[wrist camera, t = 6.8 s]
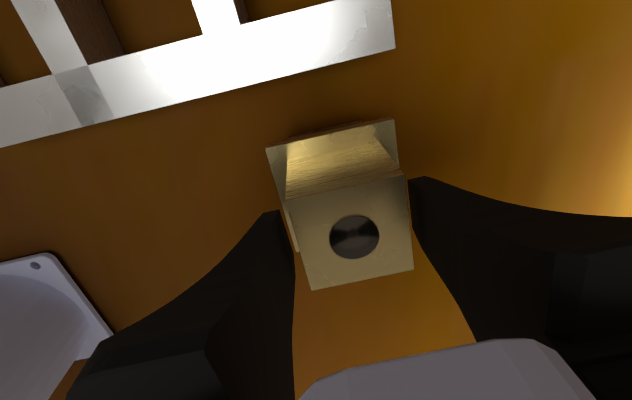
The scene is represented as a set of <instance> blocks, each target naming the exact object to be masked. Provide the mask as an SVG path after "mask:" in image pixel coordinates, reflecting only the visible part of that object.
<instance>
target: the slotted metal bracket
mask: <svg viewBox="0 0 632 400" xmlns="http://www.w3.org/2000/svg"><path fill="white" fill-rule="evenodd" d="M11 2H12V3H13V5H14V7H15V9H16V10H17V12H18V14H19V16H20V18H21V19H22V21H23V23H24V25H25V26H26V28H27V30H28V32H29V33H30V35H31V37H32V39H33V40H34V42H35V44H36V46H37V47H38V49H39V51H40V53H41V54H42V56H43V58H44V60H45V61H46V63H47V65H48V67H49V68H50V70H51V72H52V75H48V76H45V77H41V78H37V79H33V80H29V81H25V82H22V83H18V84H14V85H10V86H6V84H5V83H4V81H3V79H2V78H1V76H0V148H1V147H5V146H9V145H13V144H17V143H21V142H25V141H29V140H33V139H37V138H41V137H45V136H49V135H53V134H57V133H61V132H65V131H69V130H73V129H77V128H81V127H85V126H89V125H93V124H97V123H101V122H105V121H109V120H113V119H117V118H120V117H124V116H128V115H132V114H136V113H140V112H144V111H148V110H152V109H156V108H160V107H164V106H168V105H172V104H176V103H180V102H184V101H188V100H192V99H196V98H200V97H204V96H208V95H212V94H216V93H220V92H224V91H228V90H232V89H236V88H240V87H244V86H248V85H252V84H256V83H260V82H264V81H268V80H272V79H276V78H280V77H284V76H288V75H292V74H296V73H300V72H304V71H308V70H311V69H315V68H319V67H323V66H327V65H331V64H335V63H339V62H343V61H347V60H351V59H355V58H359V57H363V56H367V55H371V54H375V53H379V52H383V51H387V50H391V49H395V39H394V30H393V20H392V10H391V1H390V0H335V1H331V2H327V3H323V4H320V5H316V6H312V7H308V8H304V9H301V10H297V11H293V12H289V13H285V14H281V15H278V16H274V17H270V18H266V19H262V20H258V21H255V22H251V23H250V22H249V18H248V14H247V11H246V7H245V4H244V0H192V3H193V6H194V9H195V12H196V15H197V18H198V21H199V23H200V26H201V29H202V32H203V35H201V36H197V37H194V38H190V39H186V40H182V41H178V42H174V43H171V44H167V45H163V46H159V47H155V48H152V49H148V50H144V51H140V52H136V53H132V54H129V55H126V54H125V52H124V50H123V48H122V46H121V44H120V41H119V39H118V37H117V35H116V33H115V30H114V28H113V26H112V24H111V22H110V20H109V17H108V15H107V13H106V11H105V9H104V7H103V4H102V2H101V0H11Z"/></svg>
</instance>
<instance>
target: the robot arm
mask: <svg viewBox="0 0 632 400" xmlns="http://www.w3.org/2000/svg"><path fill="white" fill-rule="evenodd" d="M407 181H408V191H409V200H410V210H411V219H412V228H413V230H414V232H415V235H416V237H417V239H418V241H419V243H420V245H421V247H422V249H423V251H424V253H425V254H426V256H427V257H428V259H429V260H430V262H431V264H432V265H433V267H434V268H435V270H436V271H437V273H438V274H439V276H440V277H441V279H442V280H443V282H444V283H445V285H446V286H447V288H448V289H449V291H450V293H451V294H452V296H453V297H454V299H455V301H456V302H457V304H458V306H459V307H460V309H461V311H462V313H463V315H464V317H465V319H466V321H467V323H468V325H469V327H470V329H471V331H472V333H473V335H474V337H475V339H476V341H477V342H476V343H471V344H466V345H461V346H456V347H451V348H446V349H441V350H436V351H431V352H426V353H421V354H416V355H411V356H406V357H401V358H396V359H391V360H386V361H381V362H376V363H371V364H366V365H361V366H356V367H351V368H346V369H344V370H341V371H339V372H336V373H333V374H331V375H328V376H326V377H323V378H321V379H318V380H317V381H316V382H315V383H314V384H313V385H312V386H311V387H310V388H309V389H308V390H307V391H306V392H305V393H304V394H303V395H302V396H301V397H300V399H299V400H632V217H611V216H596V215H583V214H573V213H564V212H556V211H549V210H542V209H536V208H530V207H525V206H520V205H516V204H511V203H506V202H502V201H498V200H495V199H491V198H488V197H485V196H481V195H478V194H475V193H472V192H469V191H466V190H463V189H460V188H457V187H455V186H452V185H449V184H447V183H444V182H441V181H439V180H436V179H433V178H430V177H426V176H423V177H418V178H414V179H410V180H407ZM37 263H38V264H37ZM39 264H40V265H39ZM294 292H295V265H294V254H293V251H292V247H291V244H290V241H289V238H288V235H287V232H286V229H285V226H284V223H283V220H282V216H281V213H280V210H274V211H270V212H266V213H263V214H262V215H261V216H260V217H259V218H258V219H257V221H256V222H255V223H254V224H253V226H252V227H251V228H250V229H249V230H248V232H247V233H246V234H245V235H244V236H243V238H242V239H241V240H240V241H239V242H238V244H237V245H236V246H235V247H234V248H233V249H232V250H231V251H230V252H229V253H228V254H227V255H226V256H225V258H224V259H223V260H222V261H221V262H220V263H219V264H217V265H216V266H215V267H214V268H213V269H212V270H211V271H210V272H209V273H207V274H206V275H205V276H204V277H203V278H202V279H200V280H199V281H198V282H197V283H195V284H194V285H193V286H191V287H190V288H189V289H187V290H186V291H185V292H183V293H182V294H181V295H179V296H178V297H176V298H175V299H174V300H172V301H171V302H169V303H168V304H166V305H164V306H163V307H161V308H160V309H158V310H157V311H155V312H153V313H152V314H150V315H148V316H147V317H145V318H143V319H142V320H140V321H138V322H136V323H134V324H133V325H131V326H129V327H127V328H125V329H123V330H121V331H120V332H118V333H116V334H113V333H112V331H111V330H110V329H109V327H108V326H107V325H106V323H105V322H104V321H103V319H102V318H101V317H100V315H99V314H98V313H97V311H96V310H95V309H94V307H93V306H92V305H91V303H90V302H89V301H88V299H87V298H86V297H85V295H84V294H83V293H82V291H81V290H80V289H79V287H78V286H77V285H76V283H75V282H74V281H73V279H72V278H71V277H70V275H69V274H68V273H67V271H66V270H65V269H64V267H63V266H62V265H61V263H60V262H59V261H58V259H57V258H56V257H55V256H54V255H52V254H50V253H40V254H36V255H31V256H27V257H23V258H18V259H14V260H10V261H5V262H1V263H0V400H48V399H49V397H50V396H51V395H52V393H53V392H54V390H55V389H56V387H57V386H58V384H59V383H60V381H61V380H62V378H63V377H64V375H65V374H66V373H67V371H68V370H69V368H70V367H71V365H72V364H73V362H74V361H76V360H81V359H85V358H89V359H88V361H87V363H86V364H85V366H84V367H83V369H82V370H81V372H80V374H79V375H78V377H77V378H76V380H75V381H74V383H73V384H72V386H71V388H70V389H69V391H68V392H67V395H66V400H295V393H294V376H293V356H292V323H293V308H294Z"/></svg>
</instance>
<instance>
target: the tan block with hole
mask: <svg viewBox="0 0 632 400" xmlns="http://www.w3.org/2000/svg"><path fill="white" fill-rule="evenodd" d="M265 151H266V154H267V157H268V161H269V164H270V167H271V170H272V174H273V177H274V180H275V184H276V187H277V190H278V194H279V197H280V200H281V203H282V207H283V210H284V213H285V217H286V220H287V223H288V227H289V230H290V233H291V236H292V240H293V243H294V246H295V250H296V252H300V254H301V257H302V261H303V264H304V267H305V271H306V274H307V277H308V281H309V284H310V288H311V291H313V290H318V289H322V288H327V287H332V286H337V285H342V284H346V283H351V282H356V281H361V280H366V279H371V278H375V277H380V276H385V275H390V274H395V273H400V272H404V271H409V270H414V264H413V253H412V243H411V232H410V222H409V212H408V201H407V191H406V181H405V174H404V173H403V172H402V170H401V169H400V168H399V160H398V150H397V141H396V131H395V122H394V118H392V117H391V116H389V117H384V118H380V119H376V120H371V121H367V122H363V121H362V120H357V121H352V122H348V123H344V124H339V125H335V126H331V127H326V128H322V129H318V130H313V131H309V132H305V133H300V134H296V135H292V136H289V140H284V141H280V142H276V143H271V144H267V145H266V146H265Z"/></svg>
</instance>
